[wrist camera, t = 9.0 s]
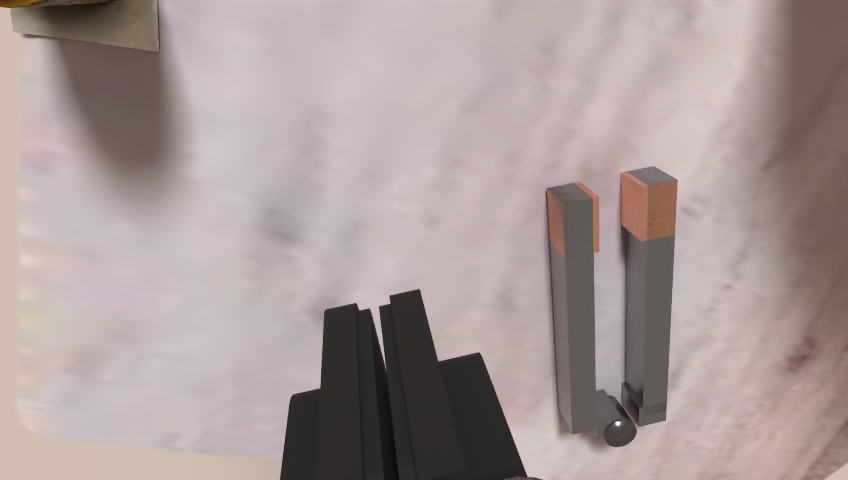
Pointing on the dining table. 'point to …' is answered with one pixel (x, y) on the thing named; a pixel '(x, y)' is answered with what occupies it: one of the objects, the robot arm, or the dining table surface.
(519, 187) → the dining table surface
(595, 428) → the tongs free arm
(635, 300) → the arm
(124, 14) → the condiment
